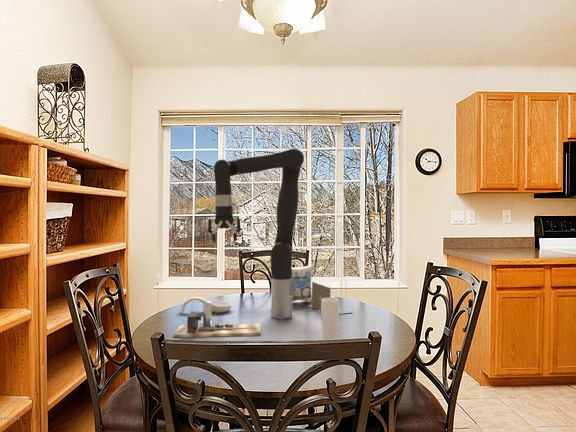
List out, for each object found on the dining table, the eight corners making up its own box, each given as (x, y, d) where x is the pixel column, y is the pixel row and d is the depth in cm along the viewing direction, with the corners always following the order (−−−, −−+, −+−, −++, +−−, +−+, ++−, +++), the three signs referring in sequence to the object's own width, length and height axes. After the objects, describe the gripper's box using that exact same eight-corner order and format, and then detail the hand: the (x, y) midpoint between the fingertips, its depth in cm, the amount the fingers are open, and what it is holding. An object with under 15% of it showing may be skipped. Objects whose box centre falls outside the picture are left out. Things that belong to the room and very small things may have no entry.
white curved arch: (231, 308, 192) (231, 293, 192) (233, 314, 181) (233, 298, 181) (181, 310, 187) (181, 295, 187) (180, 316, 176) (180, 300, 176)
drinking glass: (327, 336, 147) (327, 296, 147) (342, 340, 143) (343, 299, 143) (317, 340, 142) (317, 299, 142) (332, 345, 138) (333, 302, 138)
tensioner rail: (259, 326, 160) (260, 309, 160) (260, 335, 148) (260, 316, 148) (179, 328, 157) (180, 310, 157) (174, 337, 145) (174, 318, 145)
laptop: (353, 314, 183) (353, 286, 183) (329, 316, 178) (329, 288, 178) (333, 305, 199) (333, 280, 199) (311, 308, 194) (311, 281, 194)
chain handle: (233, 325, 156) (233, 300, 156) (233, 329, 151) (233, 302, 151) (200, 326, 155) (200, 300, 154) (198, 330, 150) (198, 303, 150)
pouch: (276, 303, 203) (277, 264, 203) (309, 300, 210) (310, 262, 210) (282, 306, 195) (283, 266, 195) (316, 303, 203) (317, 264, 203)
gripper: (206, 205, 169) (207, 243, 169) (240, 204, 170) (241, 242, 170) (208, 206, 176) (209, 242, 176) (240, 205, 178) (241, 241, 178)
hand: (224, 242), depth 173 cm, fingers open, 8 cm apart
